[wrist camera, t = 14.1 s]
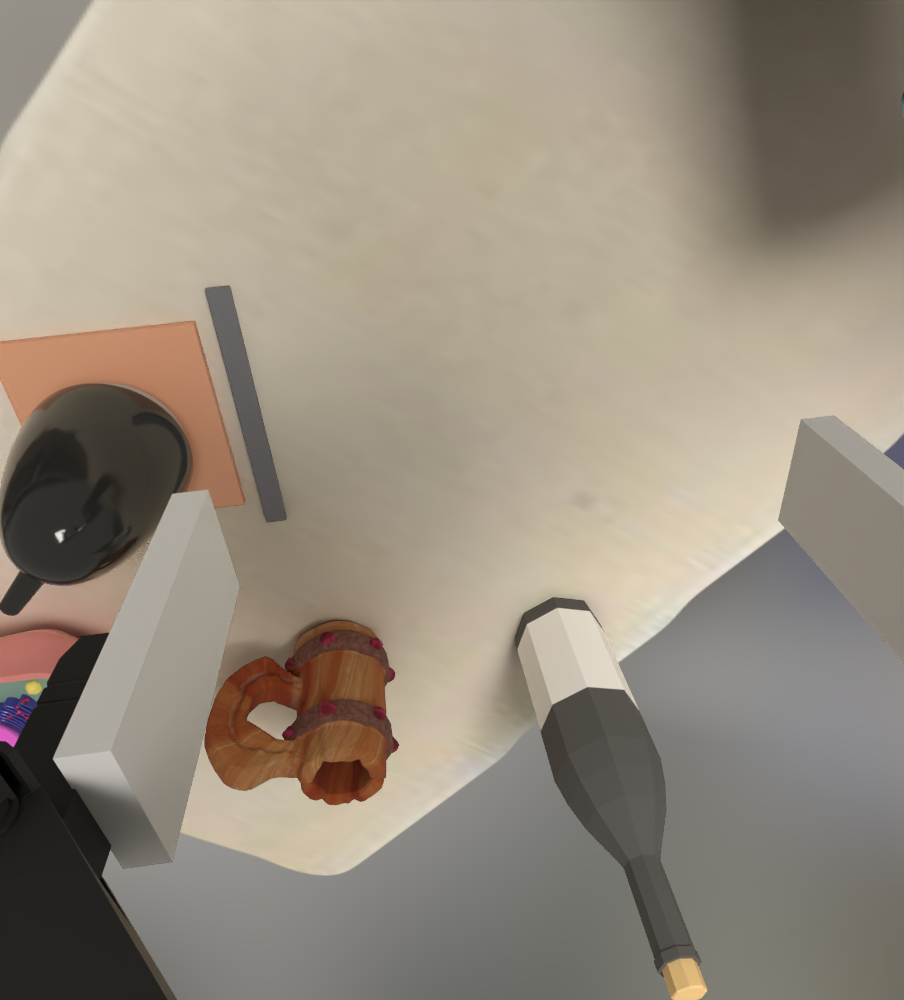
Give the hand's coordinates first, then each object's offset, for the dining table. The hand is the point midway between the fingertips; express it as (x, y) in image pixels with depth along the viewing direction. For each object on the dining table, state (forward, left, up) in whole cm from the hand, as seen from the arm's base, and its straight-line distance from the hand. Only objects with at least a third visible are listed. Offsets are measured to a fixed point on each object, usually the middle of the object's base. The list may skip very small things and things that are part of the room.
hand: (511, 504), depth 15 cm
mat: (+21, +12, -33) cm, 41 cm away
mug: (+12, +34, -33) cm, 49 cm away
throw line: (+13, +12, -33) cm, 37 cm away
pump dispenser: (+21, +12, -33) cm, 41 cm away
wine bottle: (-10, +37, -33) cm, 51 cm away
